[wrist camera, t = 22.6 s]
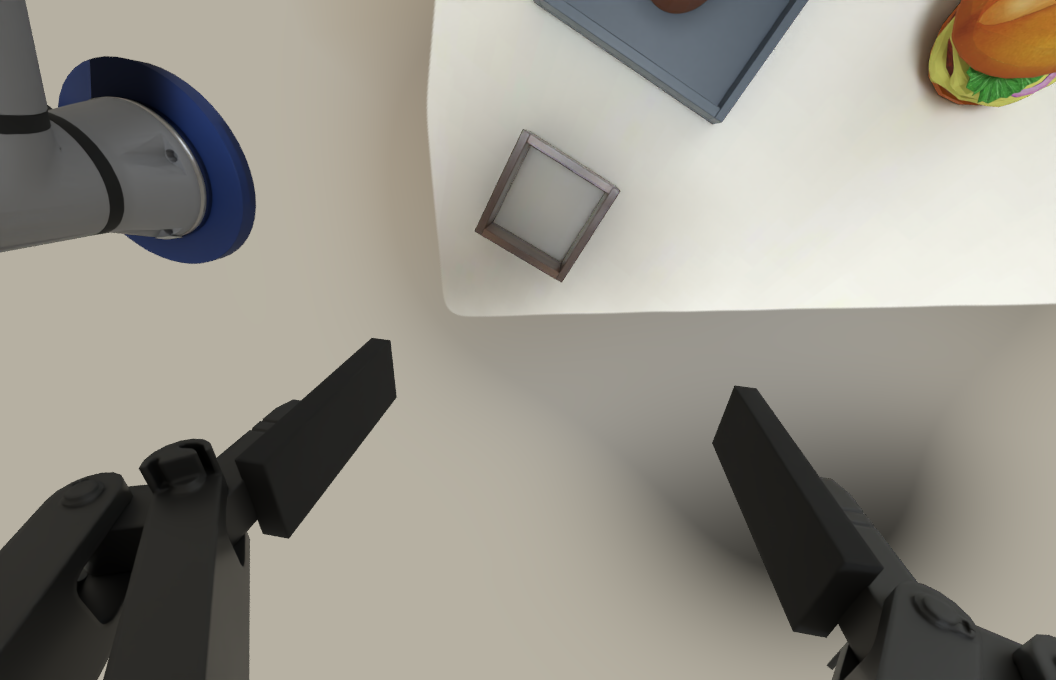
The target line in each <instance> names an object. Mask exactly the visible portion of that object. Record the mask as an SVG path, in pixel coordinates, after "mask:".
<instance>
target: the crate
mask: <svg viewBox="0 0 1056 680" xmlns="http://www.w3.org/2000/svg"><path fill="white" fill-rule="evenodd" d="M530 146H533V147H535V148H536V149H538V150H539V151H541V152H543V153H544V154H546V155H547V156H549V157H550V158H552V159H554V160H555V161H557V162H558V163H560V164H562V165H563V166H565V167H566V168H568V169H569V170H571V171H573V172H574V173H576V174H577V175H579V176H580V177H582V178H584V179H585V180H587V181H588V182H590V183H592V184H593V185H595V186H596V187H598V188H599V189H601V190H603V191H604V192H605V193H604V195H603V197H602V198H601V200H600V202H599V203H598V205H597V206H596V208H595V210H594V211H593V213H592V214H591V216H590V218H589V219H588V221H587V222H586V224H585V226H584V227H583V229H582V231H581V232H580V234H579V235H578V237H577V239H576V240H575V242H574V243H573V245H572V247H571V248H570V250H569V251H568V253H567V255H566V256H565V258H564V260H563V261H562V263H561V262H559V261H557V260H556V259H554V258H552V257H551V256H549V255H547V254H546V253H544V252H542V251H541V250H539V249H537V248H536V247H534V246H532V245H531V244H529V243H527V242H526V241H524V240H522V239H521V238H519V237H517V236H515V235H514V234H512V233H510V232H509V231H507V230H505V229H504V228H502V227H500V226H499V225H497V224H495V223H494V222H493V220H494V218H495V216H496V214H497V212H498V210H499V208H500V206H501V204H502V202H503V200H504V198H505V196H506V194H507V192H508V190H509V188H510V186H511V184H512V182H513V180H514V178H515V176H516V174H517V172H518V170H519V168H520V166H521V164H522V162H523V160H524V158H525V156H526V154H527V152H528V150H529V148H530ZM619 192H620V190H619V189H618V188H617V187H616V186H615V185H613V184H612V183H610V182H609V181H607V180H605V179H604V178H602V177H601V176H599V175H598V174H596V173H594V172H593V171H591V170H590V169H588V168H587V167H585V166H583V165H582V164H580V163H579V162H577V161H576V160H574V159H572V158H571V157H569V156H568V155H566V154H565V153H563V152H562V151H560V150H558V149H557V148H555V147H554V146H552V145H551V144H549V143H547V142H546V141H544V140H543V139H541V138H540V137H538V136H536V135H535V134H533V133H532V132H530V131H528V130H524V129H523V130H522V132H521V134H520V137H519V139H518V141H517V143H516V145H515V147H514V149H513V151H512V153H511V156H510V158H509V160H508V162H507V164H506V166H505V168H504V170H503V172H502V174H501V177H500V179H499V181H498V183H497V185H496V187H495V189H494V191H493V193H492V196H491V198H490V200H489V202H488V204H487V206H486V208H485V210H484V212H483V214H482V217H481V219H480V221H479V223H478V225H477V227H476V229H475V232H477V233H479V234H480V235H482V236H483V237H485V238H487V239H489V240H490V241H492V242H494V243H495V244H497V245H499V246H500V247H502V248H504V249H505V250H507V251H509V252H511V253H512V254H514V255H516V256H517V257H519V258H521V259H522V260H524V261H526V262H527V263H529V264H531V265H533V266H534V267H536V268H538V269H539V270H541V271H543V272H544V273H546V274H548V275H549V276H551V277H553V278H555V279H556V280H558V281H560V282H562V281H563V280H564V278H565V277H566V275H567V274H568V272H569V271H570V269H571V267H572V266H573V264H574V263H575V261H576V260H577V258H578V256H579V255H580V253H581V252H582V250H583V249H584V247H585V245H586V244H587V242H588V241H589V239H590V238H591V236H592V235H593V233H594V231H595V230H596V228H597V227H598V225H599V224H600V222H601V220H602V219H603V217H604V216H605V214H606V213H607V211H608V210H609V208H610V206H611V205H612V203H613V202H614V200H615V199H616V197H617V195H618V194H619Z"/></svg>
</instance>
